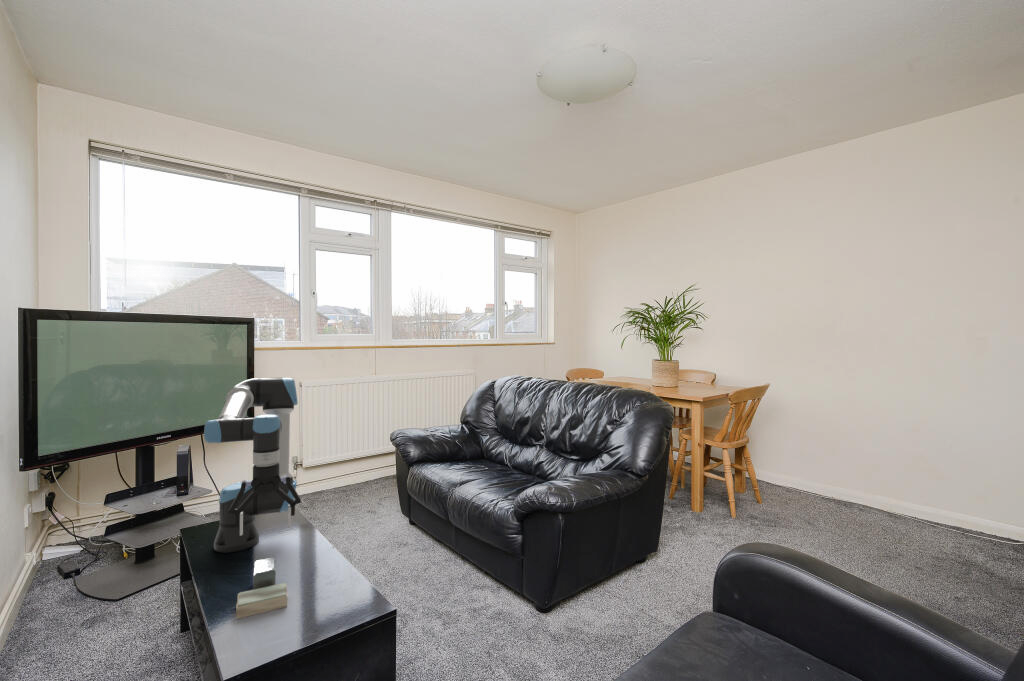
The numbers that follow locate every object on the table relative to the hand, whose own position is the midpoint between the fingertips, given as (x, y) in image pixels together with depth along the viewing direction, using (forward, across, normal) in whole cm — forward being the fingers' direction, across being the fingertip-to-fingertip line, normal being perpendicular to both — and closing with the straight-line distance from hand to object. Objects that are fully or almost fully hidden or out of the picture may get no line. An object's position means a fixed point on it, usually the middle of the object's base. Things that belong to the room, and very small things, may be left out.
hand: (265, 529), depth 146 cm
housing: (+19, 0, 0) cm, 19 cm away
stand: (+18, -1, -11) cm, 21 cm away
